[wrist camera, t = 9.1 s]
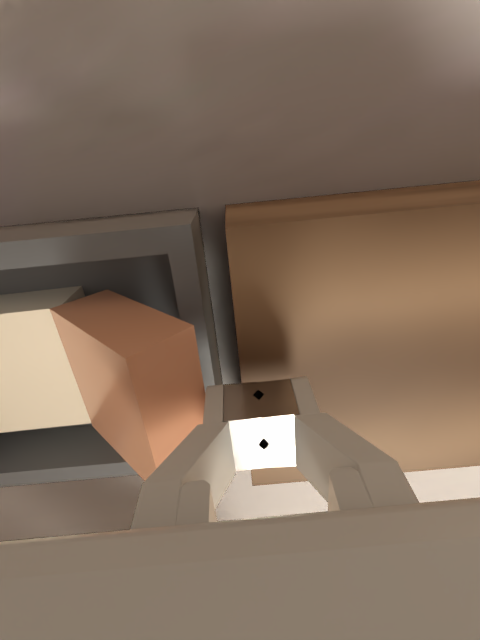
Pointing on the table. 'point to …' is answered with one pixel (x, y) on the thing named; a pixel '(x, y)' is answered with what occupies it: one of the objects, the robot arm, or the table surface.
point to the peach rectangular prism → (133, 374)
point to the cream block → (36, 364)
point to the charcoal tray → (95, 276)
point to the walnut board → (367, 314)
